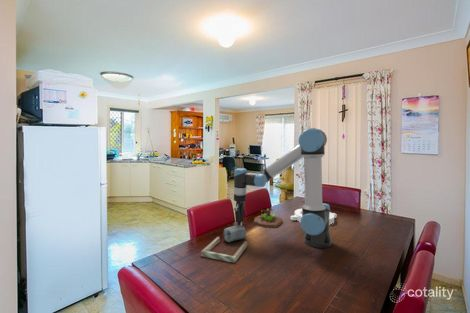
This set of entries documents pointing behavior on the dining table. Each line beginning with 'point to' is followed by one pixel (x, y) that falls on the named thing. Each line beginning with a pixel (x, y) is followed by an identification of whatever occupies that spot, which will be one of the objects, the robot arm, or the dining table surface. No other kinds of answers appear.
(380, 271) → the dining table surface
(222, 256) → the bay
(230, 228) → the streaked grey egg
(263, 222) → the plant
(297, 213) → the ring with crossbar
